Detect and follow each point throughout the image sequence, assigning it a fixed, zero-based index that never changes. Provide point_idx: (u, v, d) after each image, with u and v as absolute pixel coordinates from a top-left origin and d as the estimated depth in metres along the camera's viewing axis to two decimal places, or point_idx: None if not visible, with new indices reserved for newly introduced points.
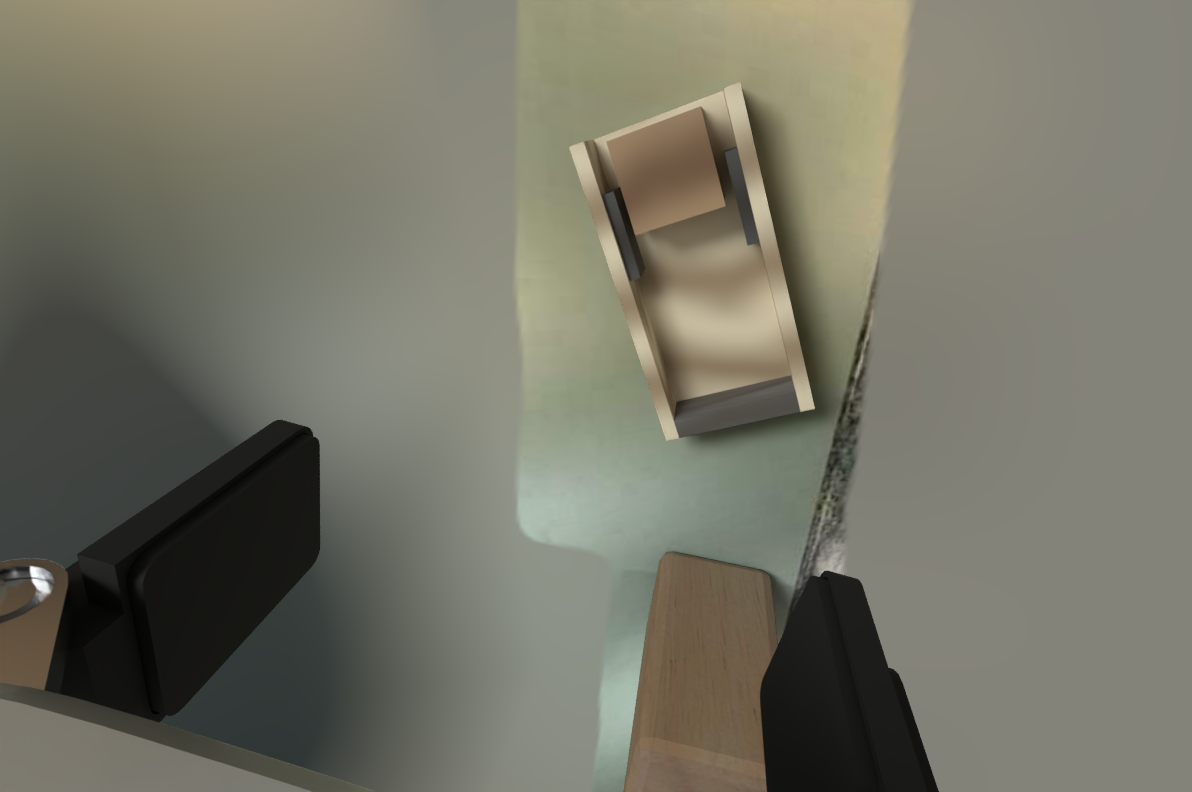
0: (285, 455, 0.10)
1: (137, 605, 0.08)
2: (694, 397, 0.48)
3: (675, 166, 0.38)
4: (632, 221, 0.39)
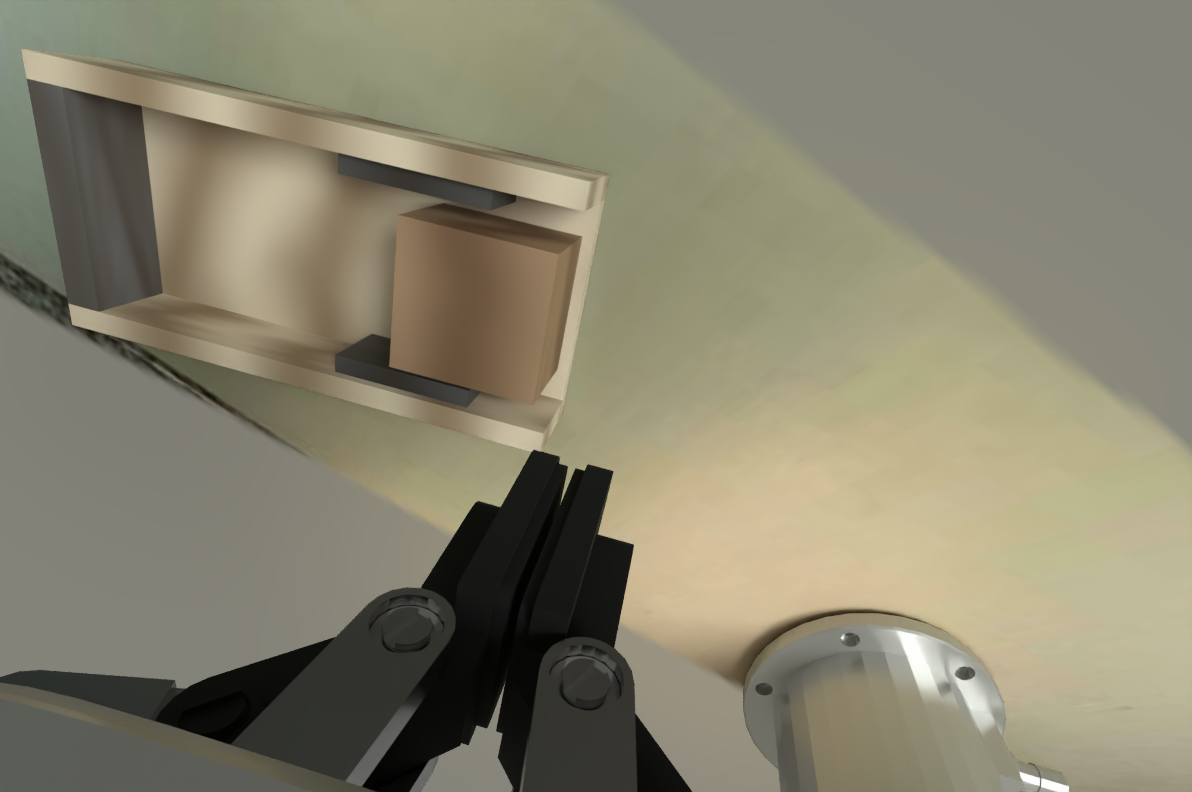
0: (554, 484, 0.11)
1: (495, 629, 0.08)
2: (143, 130, 0.26)
3: (472, 332, 0.23)
4: (421, 223, 0.22)
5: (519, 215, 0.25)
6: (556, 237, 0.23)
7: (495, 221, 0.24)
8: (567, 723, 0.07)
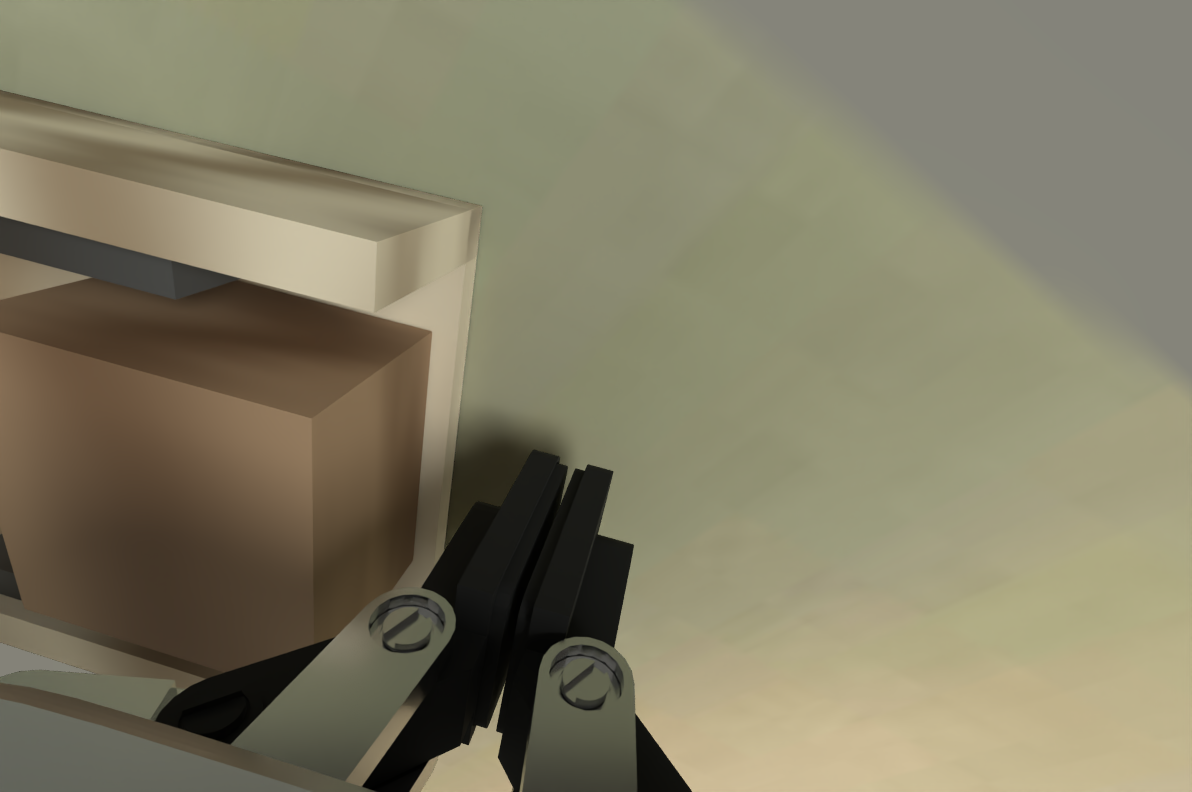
0: (554, 484, 0.11)
1: (495, 629, 0.08)
2: None
3: (165, 563, 0.10)
4: None
5: None
6: (361, 344, 0.11)
7: (238, 307, 0.11)
8: (567, 723, 0.07)
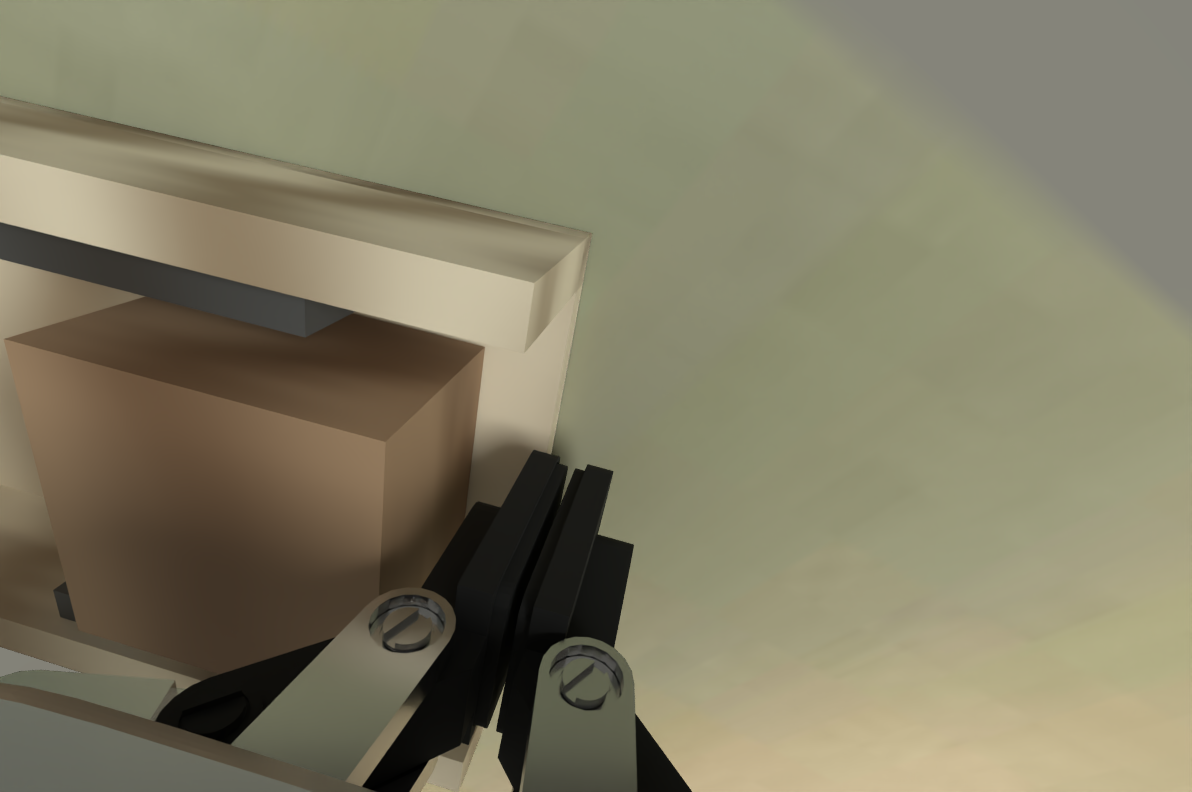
0: (554, 484, 0.11)
1: (495, 629, 0.08)
2: None
3: (225, 585, 0.10)
4: (59, 359, 0.09)
5: None
6: (418, 362, 0.11)
7: None
8: (567, 723, 0.07)
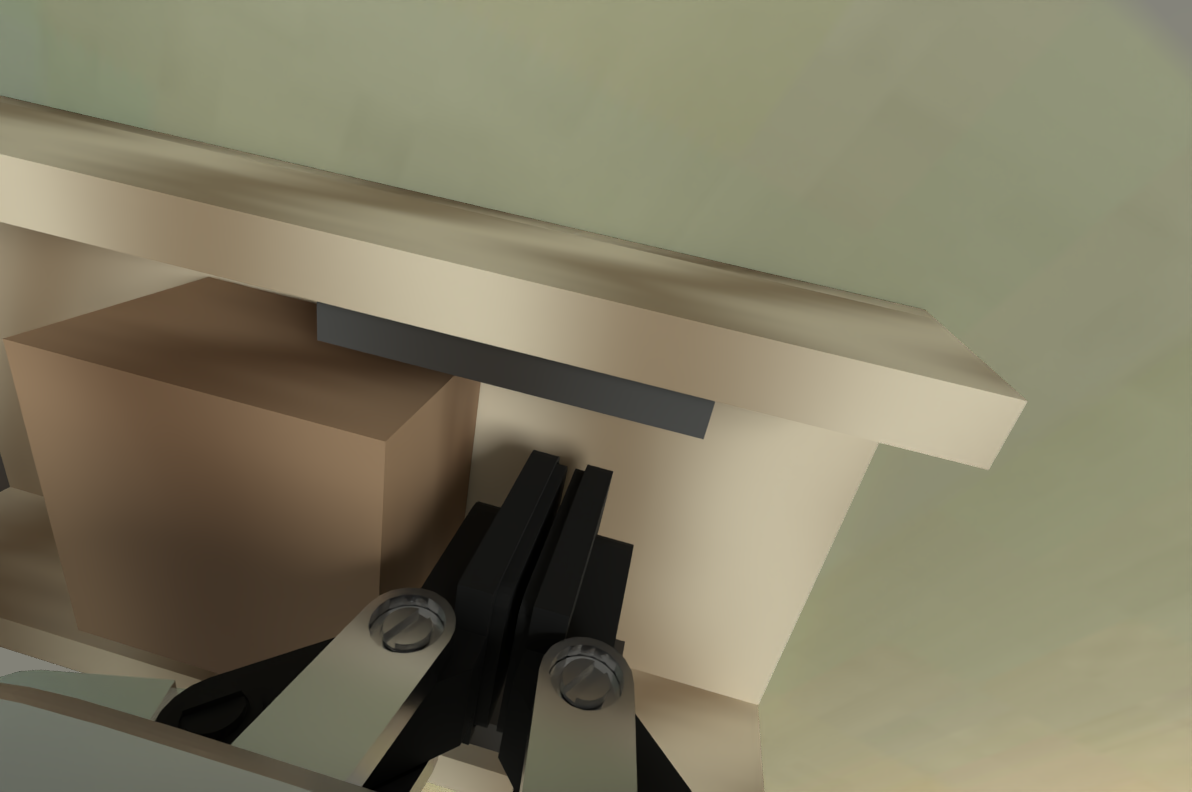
0: (554, 484, 0.11)
1: (495, 629, 0.08)
2: None
3: (225, 585, 0.10)
4: (59, 359, 0.09)
5: None
6: None
7: (292, 324, 0.11)
8: (567, 723, 0.07)
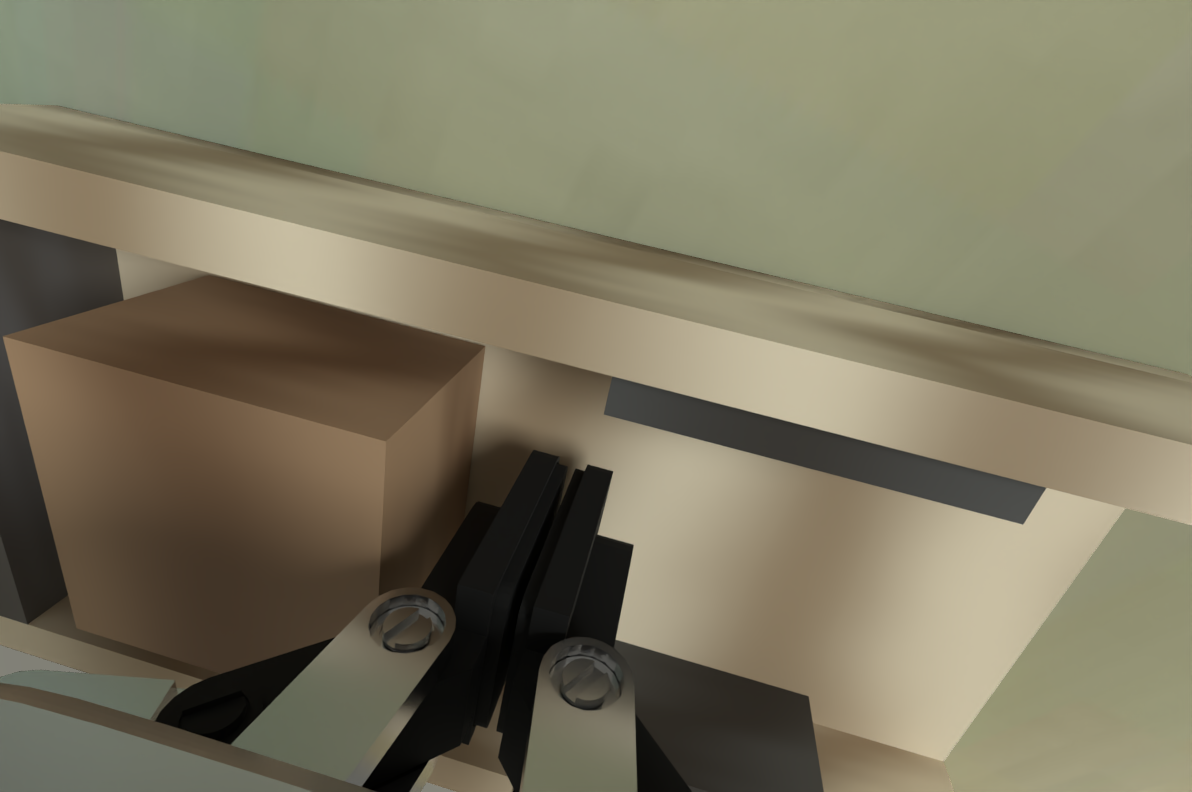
0: (554, 484, 0.11)
1: (495, 629, 0.08)
2: (115, 250, 0.13)
3: (224, 584, 0.10)
4: (59, 357, 0.09)
5: None
6: (419, 361, 0.11)
7: (293, 323, 0.11)
8: (567, 723, 0.07)
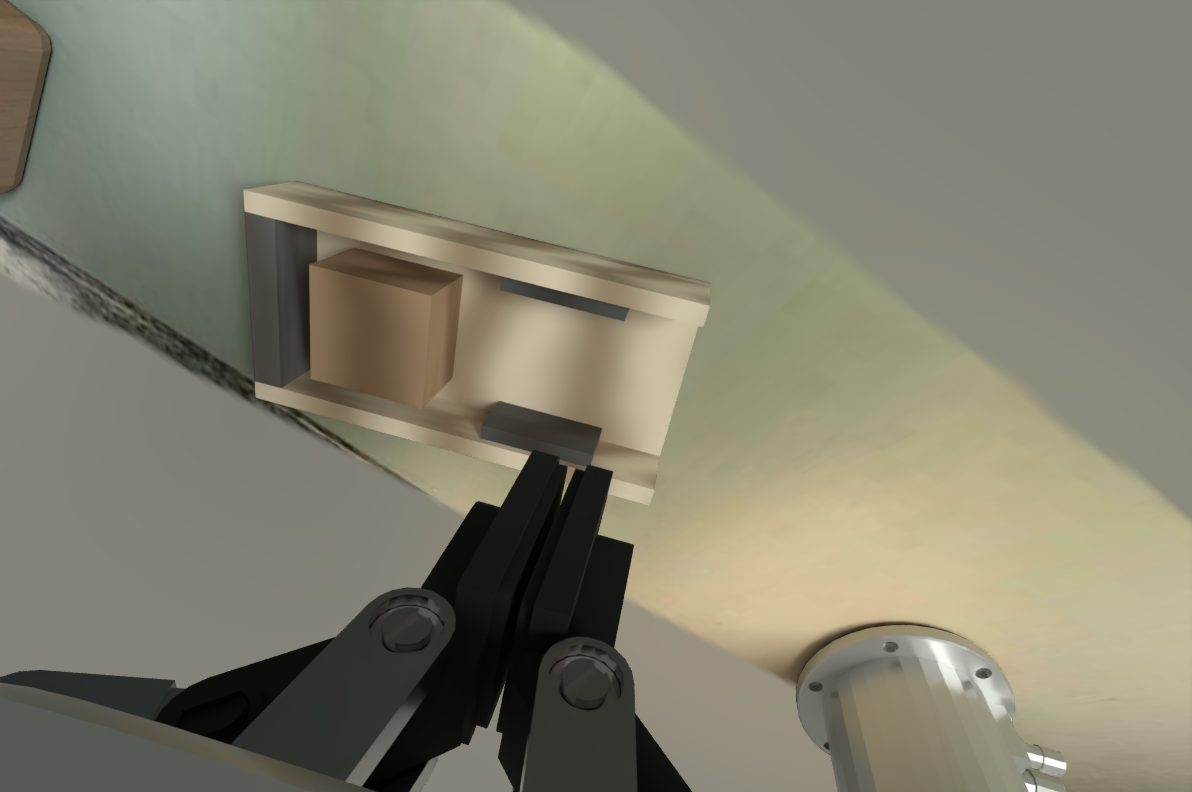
0: (554, 484, 0.11)
1: (495, 629, 0.08)
2: (317, 238, 0.32)
3: (372, 353, 0.30)
4: (327, 271, 0.28)
5: (634, 313, 0.31)
6: (438, 278, 0.30)
7: (392, 264, 0.30)
8: (567, 723, 0.07)
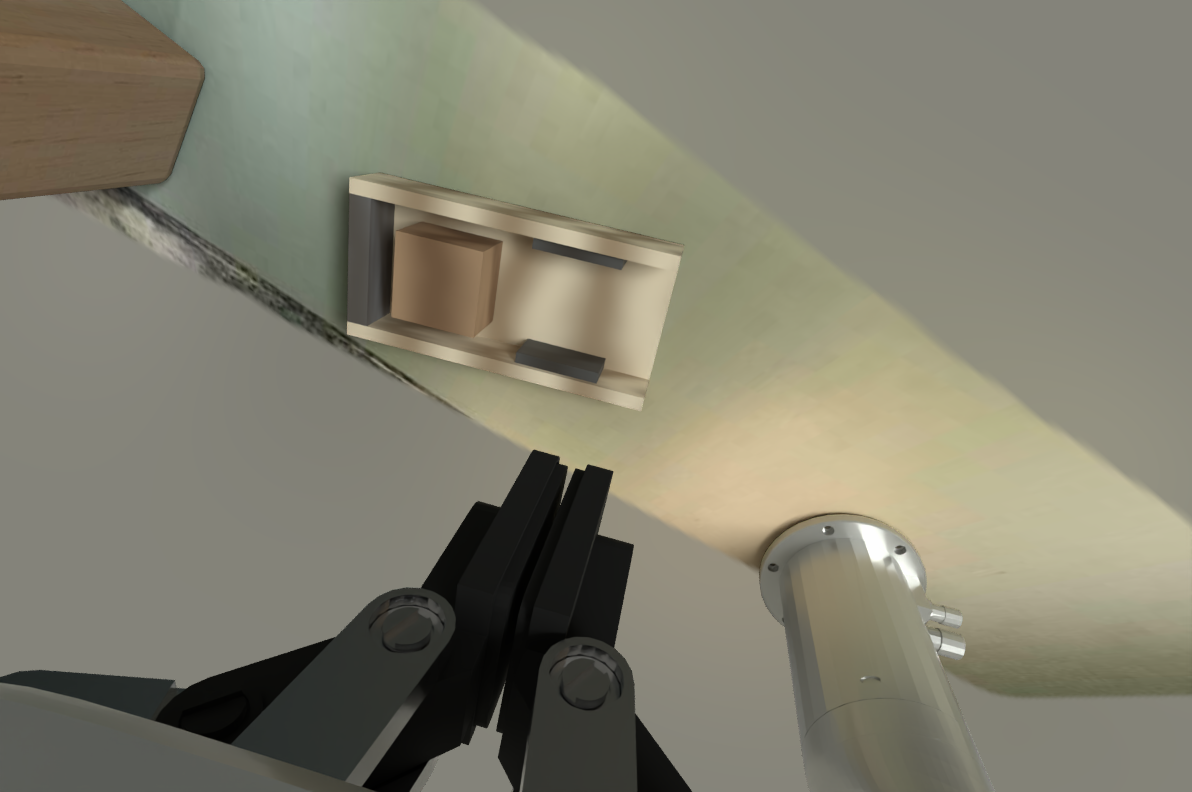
0: (554, 484, 0.11)
1: (495, 629, 0.08)
2: (394, 214, 0.43)
3: (438, 296, 0.41)
4: (408, 235, 0.39)
5: (629, 268, 0.42)
6: (486, 242, 0.41)
7: (451, 232, 0.42)
8: (567, 723, 0.07)
